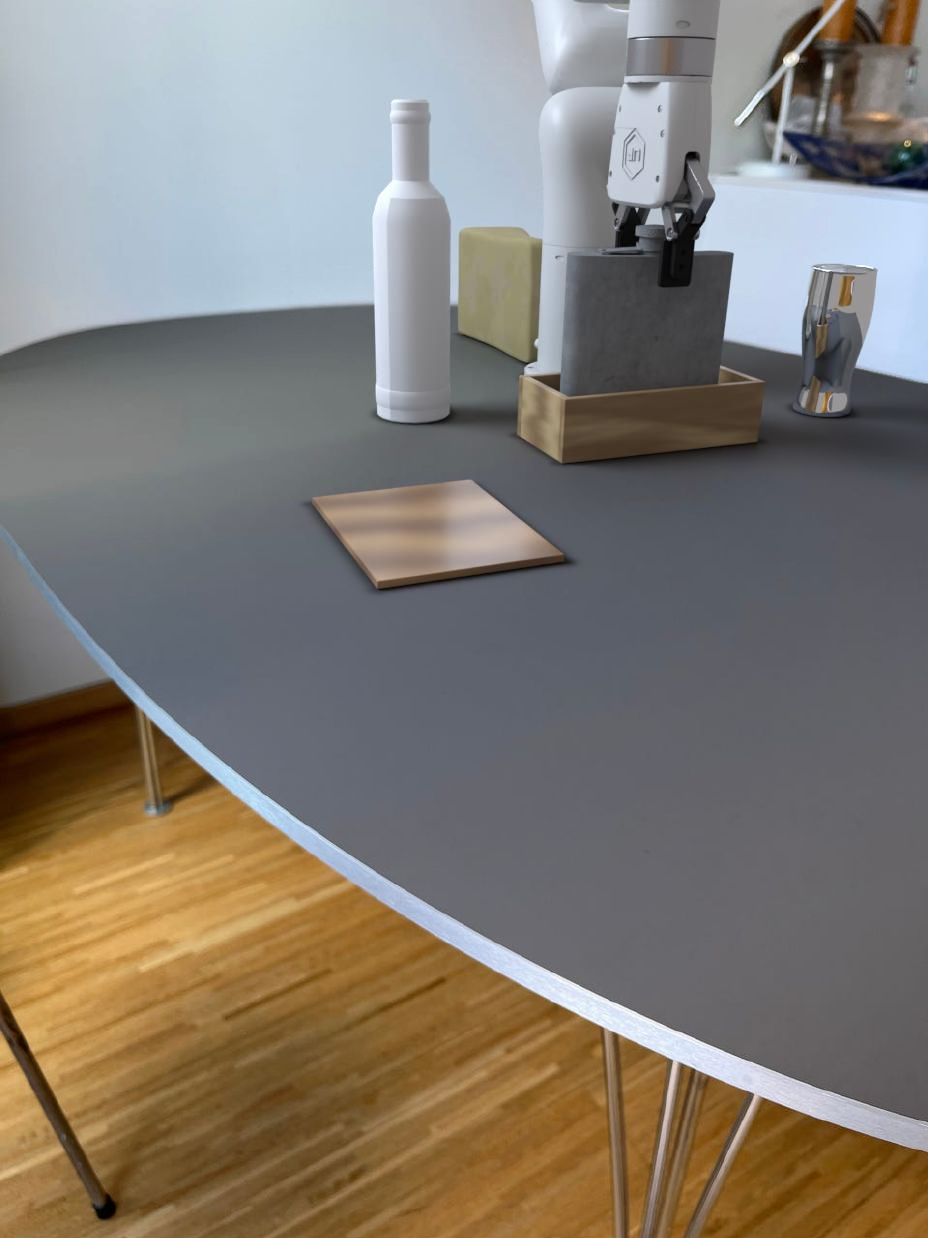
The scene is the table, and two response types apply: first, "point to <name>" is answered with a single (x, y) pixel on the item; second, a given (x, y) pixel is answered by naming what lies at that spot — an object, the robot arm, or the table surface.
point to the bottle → (411, 278)
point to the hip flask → (641, 320)
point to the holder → (638, 417)
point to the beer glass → (833, 336)
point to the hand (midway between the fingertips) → (650, 278)
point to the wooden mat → (432, 533)
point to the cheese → (500, 288)
